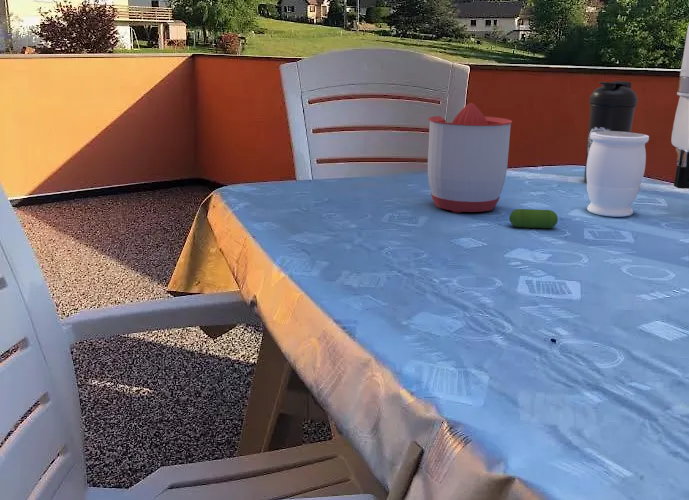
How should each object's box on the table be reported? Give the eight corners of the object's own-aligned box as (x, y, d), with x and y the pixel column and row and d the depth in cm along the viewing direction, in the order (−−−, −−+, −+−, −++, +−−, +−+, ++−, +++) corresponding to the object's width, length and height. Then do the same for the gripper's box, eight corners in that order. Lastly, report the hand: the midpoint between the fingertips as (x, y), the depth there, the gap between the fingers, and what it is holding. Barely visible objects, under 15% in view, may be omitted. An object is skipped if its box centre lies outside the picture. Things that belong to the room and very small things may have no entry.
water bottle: (571, 181, 165) (583, 80, 159) (593, 177, 172) (605, 79, 166) (612, 188, 158) (626, 83, 152) (634, 183, 165) (647, 82, 158)
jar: (585, 204, 143) (594, 129, 138) (640, 209, 138) (651, 132, 134) (577, 214, 134) (586, 135, 129) (636, 221, 129) (647, 139, 125)
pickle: (554, 226, 125) (556, 208, 124) (558, 230, 122) (560, 212, 121) (507, 224, 126) (509, 206, 125) (510, 229, 123) (511, 211, 122)
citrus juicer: (476, 195, 149) (483, 98, 143) (520, 214, 133) (530, 106, 128) (408, 198, 144) (412, 99, 139) (445, 218, 129) (452, 107, 123)
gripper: (741, 91, 121) (721, 196, 126) (705, 86, 135) (688, 181, 140) (695, 89, 121) (678, 194, 127) (664, 85, 136) (649, 179, 141)
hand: (683, 187), depth 133 cm, fingers closed
